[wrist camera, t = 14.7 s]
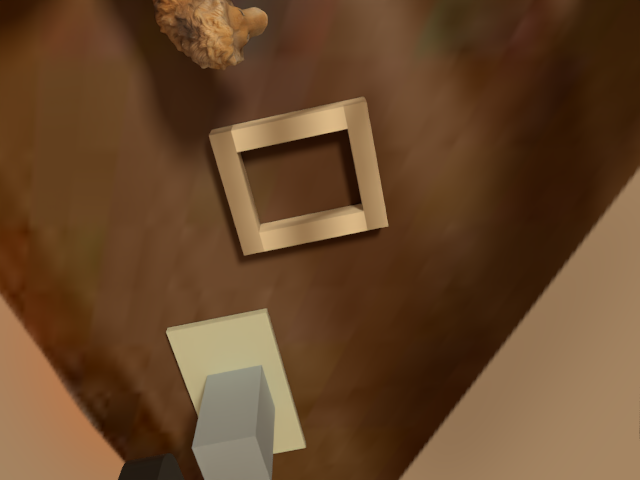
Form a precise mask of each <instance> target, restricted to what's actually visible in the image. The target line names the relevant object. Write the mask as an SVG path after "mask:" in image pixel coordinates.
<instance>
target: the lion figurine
mask: <svg viewBox="0 0 640 480" xmlns="http://www.w3.org/2000/svg"><path fill="white" fill-rule="evenodd" d="M153 3H154V7H155V18H156V22H157V24H158V25H159V26H160V31H161V33H164V34H166V35H167V36H168V38H169V39H170V40H171V42H172V43H173V44H174V45H175V46H176V47H177V50H178V51H181V52H184V54H185V55H186V56H188V57H191V59H192V61H193V62H195V63H197V64H199V65H200V67H201V68H204V69H205V68H207V67H210V68H214V69H222V70H225V69H226V67H228V66H230V65H233V66H235V65H236V64H239V63H240V62H241V61H243V60H244V58H243V46H244V45H246V44H247V42H248V40H249V39H250V38H251V37H253V36H258V35H260V34H262V33H263V32H264V30H265V27H266V26H267V24H268V17H267V15H266V13H265V12H264V11H261V10H260V9H259V8H256V7H252V8H248V9H245V10H241V9H240V8H237V7H234V5H233V3H232V2H231V0H153Z"/></svg>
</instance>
